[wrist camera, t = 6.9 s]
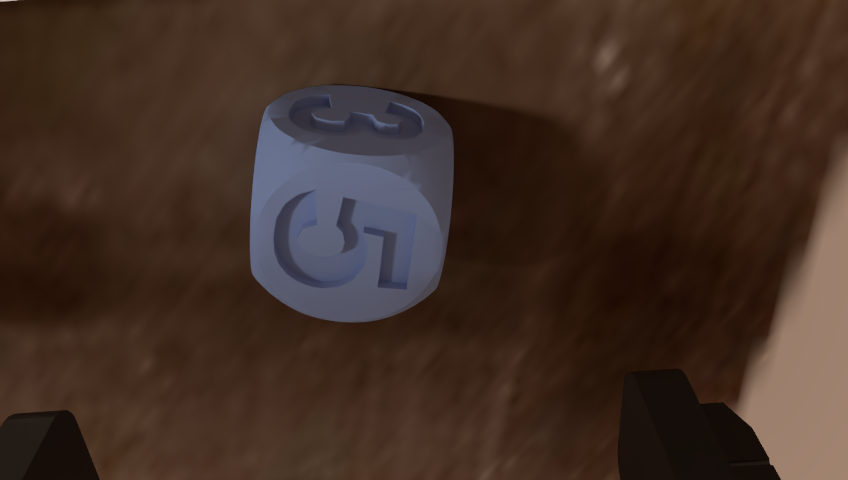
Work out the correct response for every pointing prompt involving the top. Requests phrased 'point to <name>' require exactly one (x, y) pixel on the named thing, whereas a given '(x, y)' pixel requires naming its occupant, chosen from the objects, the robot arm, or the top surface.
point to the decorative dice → (351, 202)
